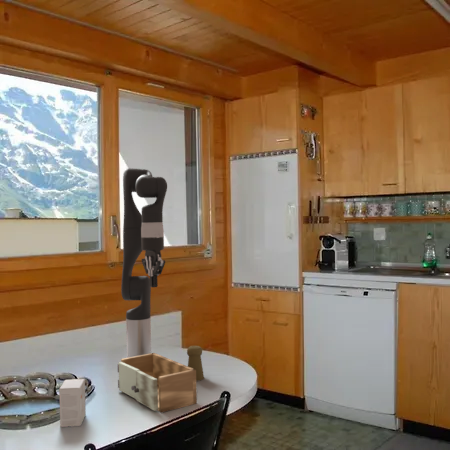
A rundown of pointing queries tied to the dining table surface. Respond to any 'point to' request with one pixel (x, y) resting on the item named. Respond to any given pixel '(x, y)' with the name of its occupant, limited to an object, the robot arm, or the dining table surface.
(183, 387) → the cabinet
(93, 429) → the dining table surface
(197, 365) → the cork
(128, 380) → the door
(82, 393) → the small box
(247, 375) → the dining table surface
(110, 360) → the dining table surface
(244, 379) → the dining table surface
